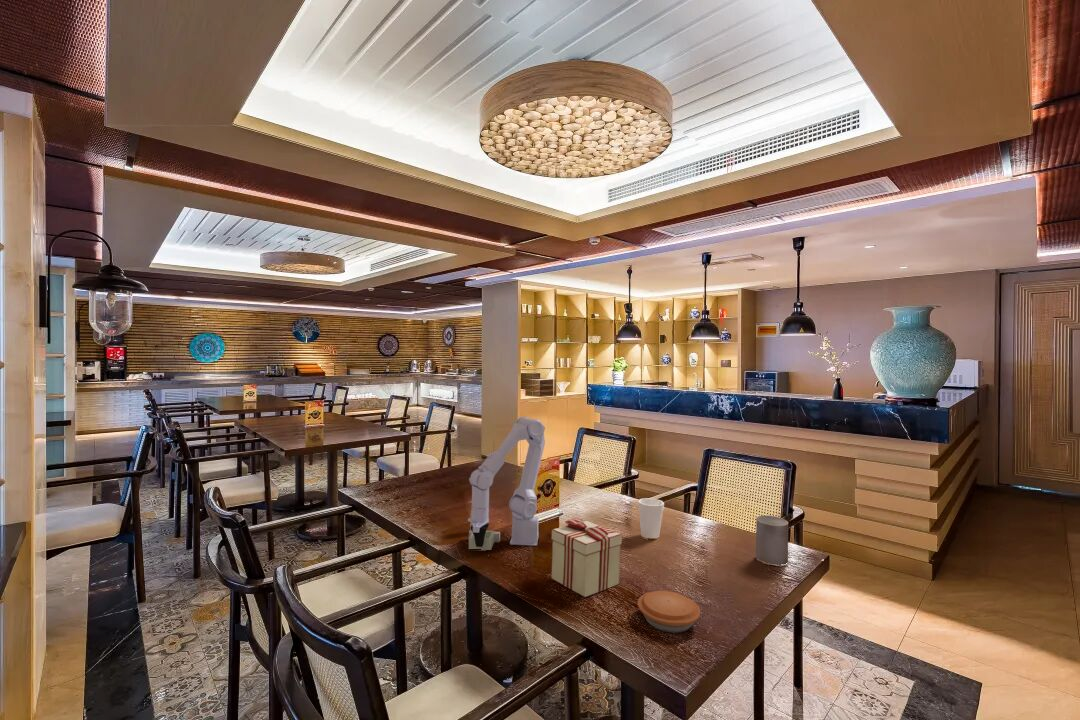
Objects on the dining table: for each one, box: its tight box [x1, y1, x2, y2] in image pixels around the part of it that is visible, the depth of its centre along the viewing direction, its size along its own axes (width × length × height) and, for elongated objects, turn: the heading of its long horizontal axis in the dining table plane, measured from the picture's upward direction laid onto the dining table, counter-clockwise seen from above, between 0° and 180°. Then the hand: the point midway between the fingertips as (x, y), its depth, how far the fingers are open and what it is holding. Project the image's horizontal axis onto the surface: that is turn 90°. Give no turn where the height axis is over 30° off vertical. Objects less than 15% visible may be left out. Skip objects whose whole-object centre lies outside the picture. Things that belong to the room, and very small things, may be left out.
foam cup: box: [637, 497, 665, 538], centre depth 179 cm, size 10×9×13 cm
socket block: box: [468, 530, 495, 551], centre depth 167 cm, size 8×8×4 cm
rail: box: [468, 529, 501, 543], centre depth 171 cm, size 11×2×3 cm, turn 87°
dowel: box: [469, 510, 472, 531], centre depth 179 cm, size 4×4×8 cm
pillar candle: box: [755, 515, 789, 565], centre depth 160 cm, size 10×10×15 cm
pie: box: [636, 590, 701, 633], centre depth 122 cm, size 15×16×5 cm
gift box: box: [551, 517, 623, 598], centre depth 143 cm, size 17×18×17 cm
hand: (479, 546), depth 162 cm, fingers closed
